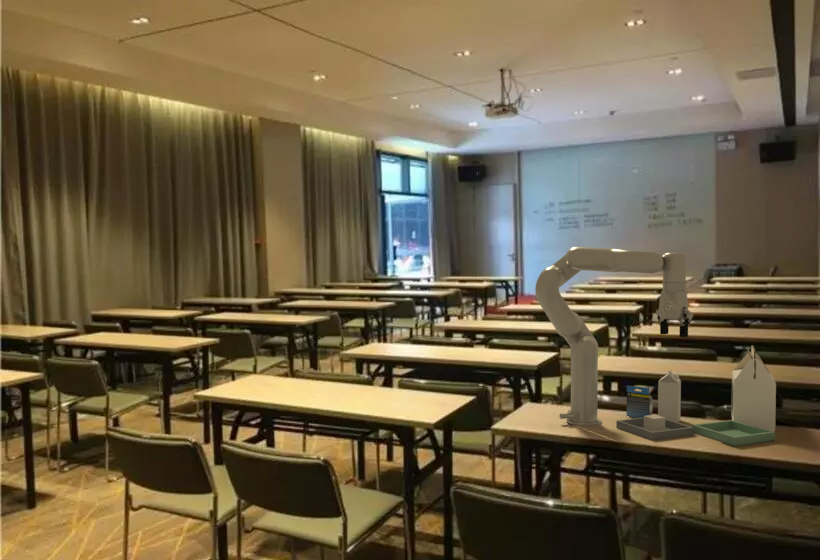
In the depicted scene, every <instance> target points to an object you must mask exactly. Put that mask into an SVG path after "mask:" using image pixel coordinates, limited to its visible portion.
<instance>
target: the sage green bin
mask: <svg viewBox="0 0 820 560" xmlns="http://www.w3.org/2000/svg"><path fill="white" fill-rule="evenodd" d="M691 427H694V434H697V435H699V436H702V437H706V438H710V439H712V440H716V441H719V442H721V443H723V444H725V445H727V446H730V447H733V448H736V447H744V446H748V445H757V444H763V443H771V441H772V442H776V431H775V432H773V431H769V430H766V429H762V428H758V427H754V426H751V425H747V424H743V423H740V422H736V421H732V419H728V420H721V421H712V422H704V423H697V424H696V423H695V424H691ZM739 430H740V431H739Z"/></svg>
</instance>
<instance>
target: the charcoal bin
mask: <svg viewBox="0 0 820 560" xmlns="http://www.w3.org/2000/svg"><path fill="white" fill-rule="evenodd" d="M615 424H616V429H618V430H622V431H625V432H627V433H631V434H633V435H637V436H639V437H642V438H643V439H644V438H645V439H647V440H650V441H658V440H666V439H672V438H673V439H674V438H680V437H687V436H694V435H695V433H694V427H692V425H691V426H690V425H687V424H684V423H681V422H679V423H678V422H675V421H671V420H668V419H665V430H662V431H654V432H652V431H649V430H646V429H644V417H643V418H637V417H633V418H627V419H618V420H616V422H615Z"/></svg>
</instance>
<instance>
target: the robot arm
mask: <svg viewBox="0 0 820 560" xmlns="http://www.w3.org/2000/svg"><path fill="white" fill-rule="evenodd" d="M686 256H687V255H686V254H685V253H684V252H666V253H660V252H654V251H640V250H639V251H638V250H637V251H636V250H623V249H618V248H612V247H611V248H607V247H589V246H588V247H586V246H585V247H584V246H573V247H570V248H569V249H568V251H567V252H566V253H565V255H563V256H562V257H560V259H558V260H556V262H555V263H553V264H552V265H551V266H548V267H546V268H545V269H543V270H542V271H541V273H540V274H539V276H538V277H537V280H536V283H535V297H536V299H537V302H538V303H539V305H540V307H541V309H542V310H543V312H544V313H545V315H546V317H547V318H548V319H549V321H550V322H551V324H552V325H553V327H554V328H555V331H556V332H557V333H558V335H559V336H560V337H563V338H564V340H565V341H566V342H567V344H568V345H569V347H570V409H567V412H564V413H563V412H562V413H559V419H561V420H565V419H566V420H565V421H566V423H567V424H569V423H570V425H573V426H583V427H584V426H588V427H590V426H591V427H592V426H599V425H601V424H602V422H603V421H602V419H601V418H598V395H599V394H598V387H599V386H598V385H599V384H598V383H599V382H598V379H599V378H598V373H599V372H598V369H599V366H598V360H599V359H598V358H599V344H598V341H597V340H596V338H595V336H594V335H593V334H592V332H591V330H590V329H589V328H588V327H587V325H586V323H585V322H584V321H583V319H582V318H581V317H580V315H579V314H578V313H577V312H574V311H573V310H572V309H571V308H570V306H569V305H568V304H567V302H566V300H565V299H564V298H563V296H562V295H561V293H560V288H561V287H562V286H563V285H565V284H566V283H567V282H569V280H571V279H572V278H573V277H574V276H576V275H577V274H579V273H580V272H581V271H589V272H590V271H591V272H592V271H593V272H594V271H595V272H606V273H607V272H608V273H621V272H623V273H640V274H657V273H662V290H661V291H660V292H661V293H660V297H659V302H658V303H659V305H658V309H656V310H655V313H656V316H657V319H658V322H659V334H660V335H668V334H669V320H673V321H678V322H679V324H680V325H679V337H680V338H688V337H689V326H690V324H691V322H692V319H693V317H694V313H692V312H691V311H690V309H689V303H688V302H689V301H688V293H687V291H686V288H687V287H686V279H687V277H686V275H687V274H686V273H687V260H686V259H687V257H686Z"/></svg>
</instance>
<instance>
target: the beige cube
mask: <svg viewBox="0 0 820 560" xmlns="http://www.w3.org/2000/svg"><path fill="white" fill-rule="evenodd" d="M644 429H646V430H649V431H652V432H654V431H662V430H665V417H661V416H658V414H652V415H647V416H644Z"/></svg>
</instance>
